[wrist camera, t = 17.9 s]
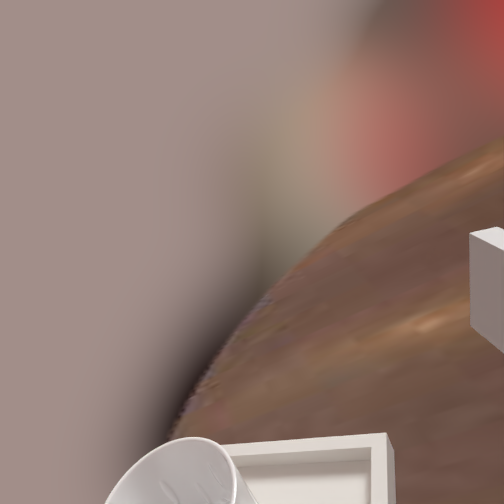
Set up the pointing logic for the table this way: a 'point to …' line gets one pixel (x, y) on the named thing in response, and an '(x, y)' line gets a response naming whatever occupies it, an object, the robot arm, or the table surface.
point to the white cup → (183, 476)
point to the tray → (319, 470)
